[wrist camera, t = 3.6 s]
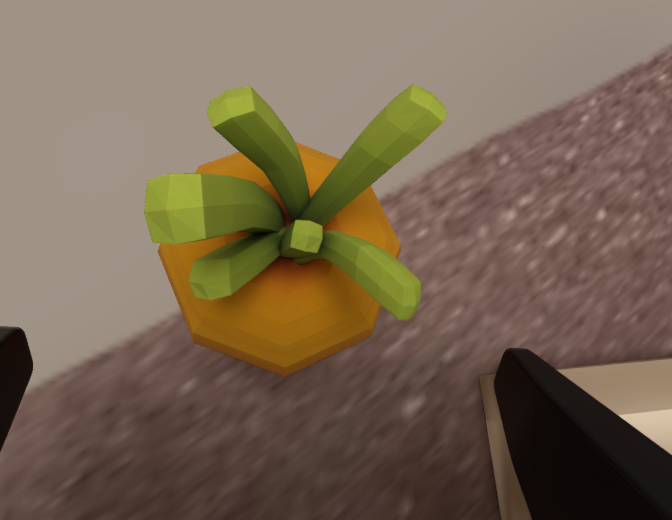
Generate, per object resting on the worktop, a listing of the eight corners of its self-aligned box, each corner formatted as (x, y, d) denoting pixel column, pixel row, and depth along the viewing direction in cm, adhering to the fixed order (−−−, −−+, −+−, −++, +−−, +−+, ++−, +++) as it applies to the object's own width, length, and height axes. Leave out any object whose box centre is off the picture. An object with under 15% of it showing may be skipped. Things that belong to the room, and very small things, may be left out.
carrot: (337, 258, 21) (479, -35, 6) (342, 378, 19) (534, 358, 5) (217, 259, 20) (70, -63, 6) (215, 384, 19) (20, 378, 4)
